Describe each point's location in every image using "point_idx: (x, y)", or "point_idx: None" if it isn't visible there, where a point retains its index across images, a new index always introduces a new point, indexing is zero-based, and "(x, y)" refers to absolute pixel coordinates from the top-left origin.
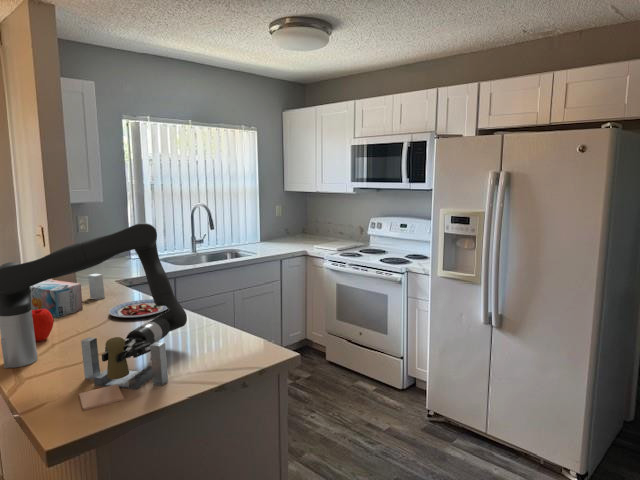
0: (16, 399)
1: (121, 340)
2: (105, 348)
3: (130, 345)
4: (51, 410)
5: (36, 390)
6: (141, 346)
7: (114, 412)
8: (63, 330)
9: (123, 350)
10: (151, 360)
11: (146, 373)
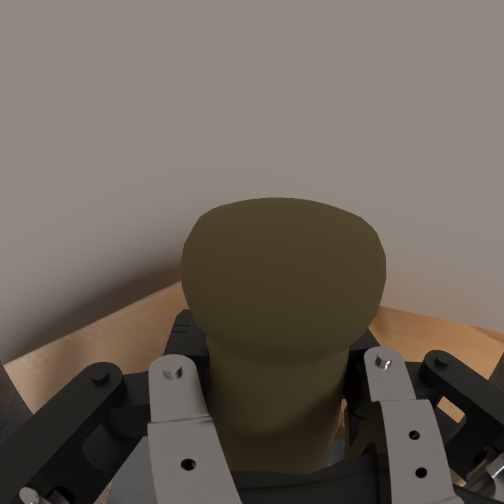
0: (449, 324)
1: (200, 220)
2: (434, 354)
3: (173, 420)
4: None
5: (469, 352)
6: (38, 429)
7: (156, 331)
8: None
9: (209, 350)
10: (17, 391)
11: (109, 496)
